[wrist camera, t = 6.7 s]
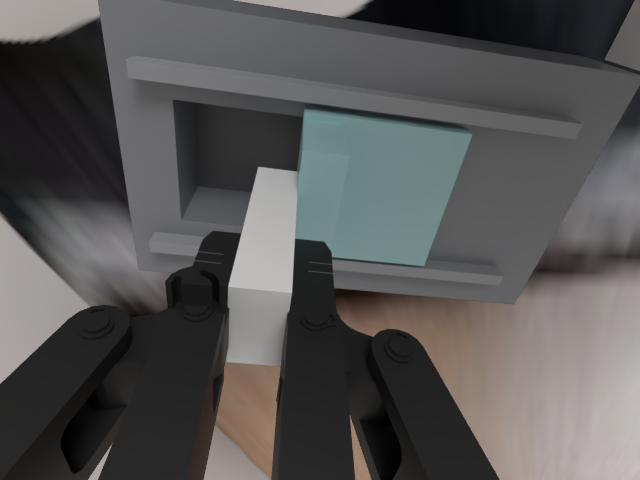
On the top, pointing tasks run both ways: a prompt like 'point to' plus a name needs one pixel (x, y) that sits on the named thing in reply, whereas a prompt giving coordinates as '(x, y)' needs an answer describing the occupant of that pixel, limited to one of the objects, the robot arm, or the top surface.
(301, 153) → the shutter
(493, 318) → the top surface
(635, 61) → the grey rectangular block
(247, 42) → the socket housing
